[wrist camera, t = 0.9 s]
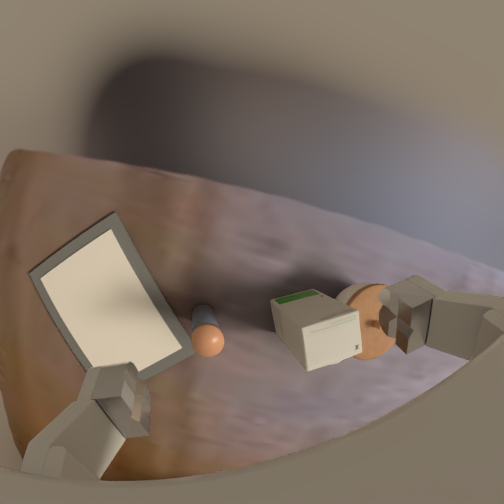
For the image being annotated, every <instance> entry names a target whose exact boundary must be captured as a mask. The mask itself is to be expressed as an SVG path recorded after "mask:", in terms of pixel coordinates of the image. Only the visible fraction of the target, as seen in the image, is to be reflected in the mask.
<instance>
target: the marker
mask: <svg viewBox="0 0 504 504" xmlns="http://www.w3.org/2000/svg"><path fill="white" fill-rule="evenodd" d="M192 346H193V348H194V350H195V351H196V352H197V353H198V354H200V355H202V356H206V357H210V356H214V355H216V354H218V353H219V352H220V351H221V350H222V348H223V346H224V337H223V334H222V332H221V330H220V328H219V325H218V322H217V318H216V315H215V312H214V309H213V307H212V306H211V305H210V304H208V303H199V304H197V305H196V306H195V307H194V308H193V310H192Z"/></svg>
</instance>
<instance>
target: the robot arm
mask: <svg viewBox="0 0 504 504" xmlns="http://www.w3.org/2000/svg"><path fill="white" fill-rule="evenodd" d="M379 302H380V303H381V304H382V307H381V309H380V311H379V323H380V326H381V329H382V330H383V332H384V333H385V334H386V335H387V336H388V337H391V338H395V344H396V345H397V346H398V347H399V348H400V349H401V350H402V351H403V352H405V353H406V354H408V353H410V352H412V351H414V350H416V349H418V348H420V347H422V346H424V345H426V346H428V347H431V348H434V349H437V350H440V351H442V352H445V353H448V354H451V355H454V356H457V357H460V358H463V359H466V360H469V362H468V363H467V364H465V365H464V366H463V367H461V368H460V369H459V370H457V371H456V372H454V373H453V374H452V375H450V376H449V377H447V378H446V379H444V380H443V381H441V382H440V383H438V384H437V385H435V386H434V387H432V388H430V389H429V390H427V391H426V392H424V393H422V394H421V395H419V396H418V397H416V398H414V399H412V400H411V401H409V402H407V403H406V404H404V405H402V406H400V407H398V408H397V409H395V410H393V411H391V412H389V413H387V414H385V415H383V416H381V417H379V418H377V419H375V420H373V421H371V422H369V423H367V424H365V425H363V426H361V427H359V428H356V429H354V430H352V431H350V432H347V433H345V434H343V435H340V436H338V437H335V438H333V439H330V440H328V441H325V442H323V443H320V444H317V445H315V446H312V447H309V448H306V449H303V450H300V451H297V452H294V453H291V454H288V455H285V456H282V457H278V458H275V459H271V460H268V461H264V462H260V463H256V464H252V465H248V466H244V467H239V468H235V469H230V470H225V471H220V472H214V473H208V474H202V475H195V476H188V477H180V478H170V479H159V480H143V481H101V480H100V478H101V476H102V475H103V473H104V472H105V470H106V469H107V467H108V466H109V464H110V463H111V461H112V460H113V458H114V456H115V455H116V453H117V452H118V450H119V449H120V447H121V446H122V444H123V443H124V441H125V440H126V439H125V438H131V437H139V436H146V435H149V433H150V418H149V416H148V415H147V413H148V412H149V410H150V409H151V397H150V392H149V390H148V387H147V385H146V384H145V382H144V381H143V380H141V379H139V378H138V370H137V368H136V366H135V365H134V363H132V362H130V361H129V362H123V363H117V364H110V365H104V366H97V367H91V368H90V369H88V371H87V374H86V376H85V379H84V382H83V385H82V387H81V390H80V393H79V396H78V399H77V401H76V402H72V403H71V404H70V405H69V406H68V407H67V408H66V409H65V410H63V411H62V412H61V413H60V414H59V415H58V416H57V417H56V418H55V419H54V420H53V421H52V422H50V423H49V424H48V425H47V426H46V427H45V428H44V429H43V430H42V431H41V432H40V433H39V434H38V435H37V436H35V437H34V438H33V439H32V440H31V441H30V442H29V444H28V447H27V450H26V452H25V456H24V459H23V462H22V465H21V468H20V471H17V470H13V469H9V468H4V467H1V466H0V504H504V297H498V296H490V295H482V294H474V293H466V292H458V291H450V290H449V291H447V292H446V291H444V290H442V289H441V288H439V287H437V286H436V285H434V284H432V283H431V282H429V281H427V280H426V279H424V278H422V277H420V276H419V275H413V276H411V277H409V278H407V279H404V280H403V281H401V282H398V283H396V284H394V285H391V286H389V287H386V288H384V289H381V290H380V293H379Z"/></svg>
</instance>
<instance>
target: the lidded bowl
mask: <svg viewBox="0 0 504 504" xmlns="http://www.w3.org/2000/svg"><path fill="white" fill-rule="evenodd" d="M386 287H389V286H387V285H384V284H375V283H358V284H354V285H351V286H349V287H347V288H346V289H344V290H343V291H341V292H340V293H339V294H338V296H337V297H336V298H335V300H337V301H339V302H342V303H344V304H346V305H348V306H350V307H352V308H354V309H356V310H358V311H359V321H360V332H361V342H362V352H361V353H359V354H356V355H354V356H353V357H355V358H357V359H361V360H369V359H373V358H376V357H378V356H380V355H382V354H383V353H385V352H386V351H387V350H388V349H389V348H390V347H391V346H392V345H393V344H394V342H395V338H391V337H388V336H387V335H386V334H385V333H384V332H383V330H382V329H381V326H380V323H379V311H380V309H381V307H382V304H381V303H380V302H379V293H380V290H381V289H384V288H386Z"/></svg>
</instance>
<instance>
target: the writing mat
mask: <svg viewBox="0 0 504 504" xmlns="http://www.w3.org/2000/svg"><path fill="white" fill-rule="evenodd" d="M29 274H30V277H31V279H32V281H33V283H34V285H35V287H36V289H37V291H38V293H39V295H40V297H41V299H42V300H43V302H44V304H45V306H46V308H47V310H48V311H49V313H50V315H51V317H52V318H53V320H54V322H55V324H56V325H57V327H58V329H59V330H60V332H61V334H62V335H63V337H64V338H65V340H66V342H67V343H68V345H69V346H70V348H71V349H72V351H73V352H74V354H75V355H76V357H77V358H78V360H79V361H80V362H81V364H82V365H83V367H84V368H85V370H86V371H88V369H90V368H91V367H97V366H104V365H110V364H117V363H123V362H129V361H130V362H132V363H134V365H135V366H136V368H137V370H138V378H139V379H141V380H143V381H145V380H146V379H148V378H150V377H152V376H154V375H156V374H158V373H160V372H162V371H164V370H165V369H167V368H169V367H171V366H173V365H175V364H177V363H178V362H180V361H182V360H184V359H186V358H188V357H189V356H191V355H193V354H195V353H197V352H196V351H195V350H194V348H193V346H192V339H191V338H190V336H189V335H188V333H187V332H186V330H185V329H184V327H183V326H182V324H181V323H180V321H179V320H178V318H177V317H176V315H175V313H174V312H173V310H172V309H171V307H170V305H169V304H168V302H167V301H166V299H165V297H164V296H163V294H162V293H161V291H160V289H159V288H158V286H157V284H156V283H155V281H154V279H153V277H152V276H151V274H150V272H149V271H148V269H147V267H146V265H145V264H144V262H143V260H142V258H141V257H140V255H139V253H138V251H137V249H136V248H135V246H134V244H133V242H132V240H131V238H130V236H129V235H128V233H127V231H126V229H125V227H124V225H123V223H122V221H121V219H120V217H119V215H118V213H117V212H115V213H113V214H111V215H110V216H108V217H107V218H105V219H104V220H102V221H101V222H99V223H98V224H96V225H95V226H93V227H92V228H90V229H89V230H87V231H86V232H84V233H83V234H81V235H80V236H79V237H77V238H76V239H74V240H73V241H72V242H70V243H69V244H67V245H66V246H65V247H63V248H62V249H60V250H59V251H58V252H56V253H55V254H54V255H52V256H51V257H50V258H48V259H47V260H46V261H45V262H43V263H42V264H41V265H39V266H38V267H37V268H36V269H34V270H33V271H32V272H31V273H29Z"/></svg>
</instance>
